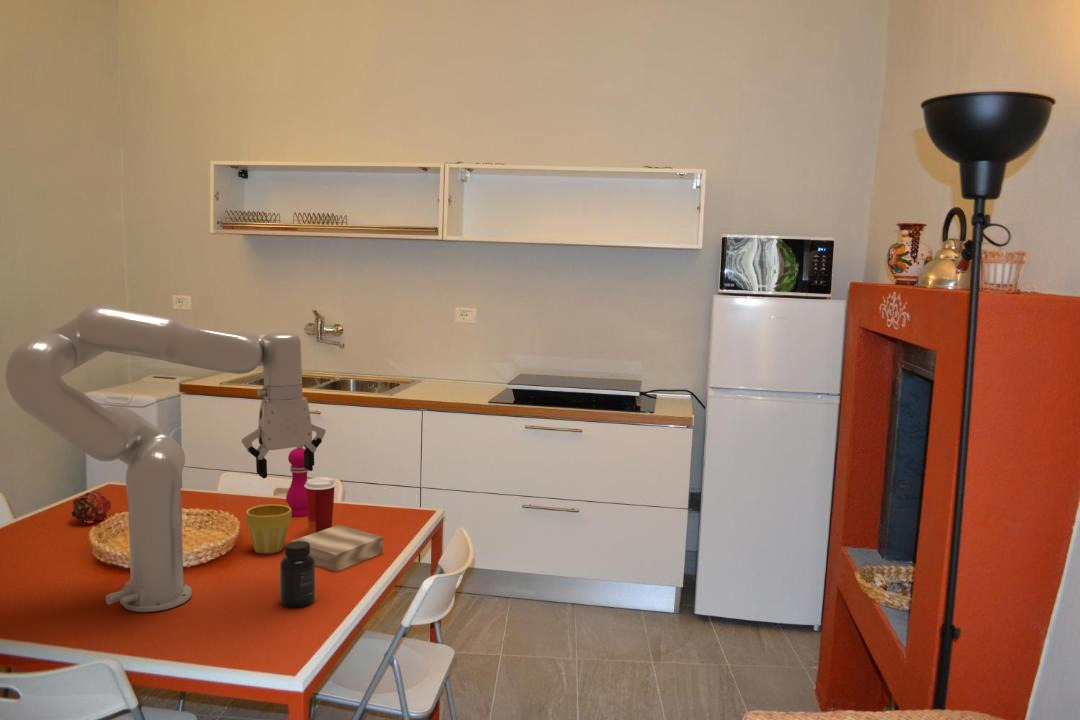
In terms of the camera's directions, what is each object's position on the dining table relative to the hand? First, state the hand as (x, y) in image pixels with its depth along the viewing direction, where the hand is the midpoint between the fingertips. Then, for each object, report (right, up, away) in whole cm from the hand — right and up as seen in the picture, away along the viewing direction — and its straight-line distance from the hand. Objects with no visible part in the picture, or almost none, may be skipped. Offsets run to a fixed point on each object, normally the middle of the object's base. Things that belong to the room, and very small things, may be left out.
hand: (286, 473), depth 162 cm
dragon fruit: (-64, -19, +41) cm, 79 cm away
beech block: (+5, -23, +22) cm, 32 cm away
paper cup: (-3, -21, +37) cm, 42 cm away
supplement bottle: (+4, -26, -4) cm, 27 cm away
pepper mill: (-13, -19, +52) cm, 57 cm away
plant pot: (-12, -22, +25) cm, 35 cm away
